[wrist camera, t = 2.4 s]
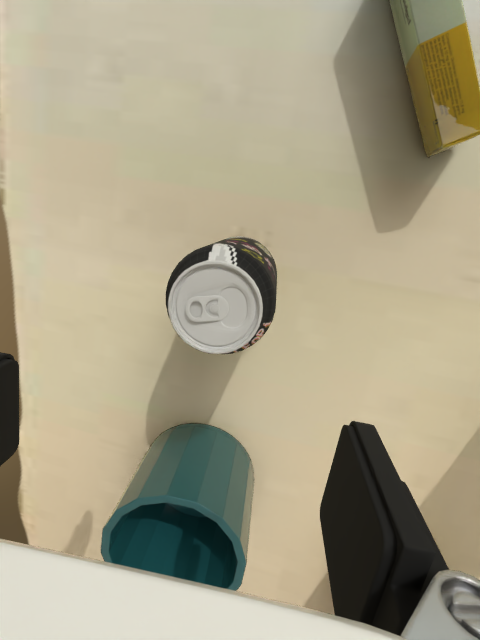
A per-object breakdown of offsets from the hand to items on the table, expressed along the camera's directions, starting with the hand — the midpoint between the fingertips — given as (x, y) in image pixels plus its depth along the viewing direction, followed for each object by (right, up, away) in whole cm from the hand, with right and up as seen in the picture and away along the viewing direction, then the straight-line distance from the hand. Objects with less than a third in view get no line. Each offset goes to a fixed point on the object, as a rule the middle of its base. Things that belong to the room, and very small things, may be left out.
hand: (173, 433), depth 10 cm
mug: (-2, -12, +24) cm, 27 cm away
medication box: (+14, +20, +14) cm, 28 cm away
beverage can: (+2, +7, +18) cm, 20 cm away
